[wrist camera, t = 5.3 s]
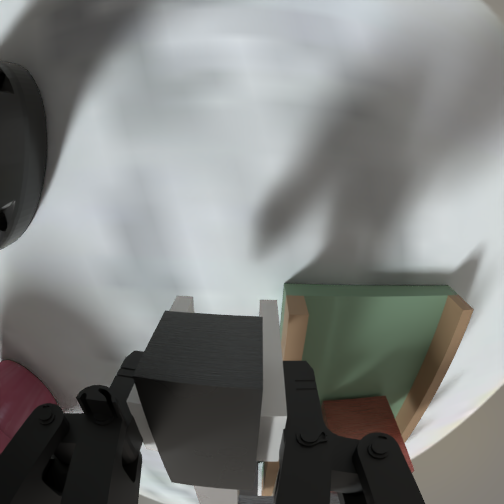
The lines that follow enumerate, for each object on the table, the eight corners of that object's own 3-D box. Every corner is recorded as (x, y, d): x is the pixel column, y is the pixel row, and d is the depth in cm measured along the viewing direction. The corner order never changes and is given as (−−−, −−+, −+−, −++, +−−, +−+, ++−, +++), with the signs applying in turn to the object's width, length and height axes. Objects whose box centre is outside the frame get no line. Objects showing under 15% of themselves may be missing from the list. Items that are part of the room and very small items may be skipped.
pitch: (196, 279, 18) (123, 458, 6) (447, 285, 18) (553, 399, 6) (214, 469, 26) (202, 562, 15) (364, 464, 26) (382, 549, 15)
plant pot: (26, 334, 21) (-50, 424, 9) (101, 434, 25) (64, 522, 13) (-28, 342, 22) (-82, 402, 10) (32, 424, 27) (-4, 486, 15)
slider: (202, 242, 15) (125, 390, 6) (433, 252, 15) (550, 355, 5) (220, 484, 25) (212, 561, 15) (337, 483, 24) (348, 555, 15)
